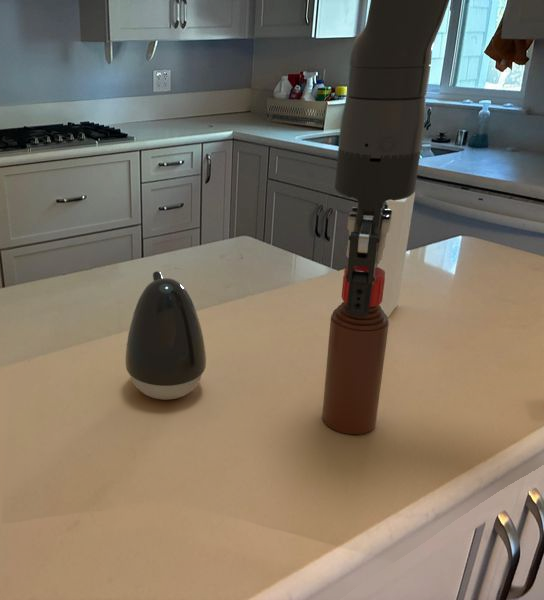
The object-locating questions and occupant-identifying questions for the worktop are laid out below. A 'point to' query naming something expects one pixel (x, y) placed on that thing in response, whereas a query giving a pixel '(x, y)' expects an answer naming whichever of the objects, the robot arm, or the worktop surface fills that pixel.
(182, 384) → the dark grey egg-shaped piece
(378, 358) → the bottle
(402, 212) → the milk
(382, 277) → the cap
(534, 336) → the worktop surface
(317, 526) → the worktop surface
